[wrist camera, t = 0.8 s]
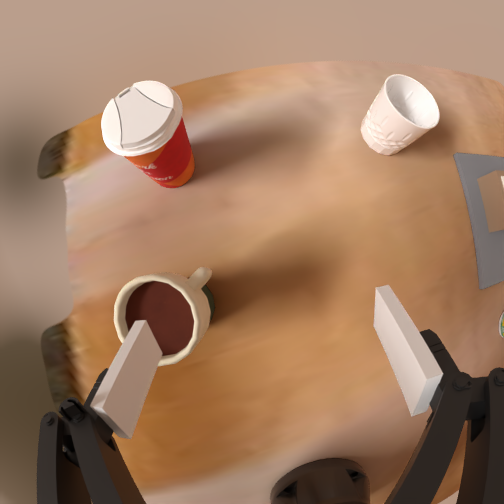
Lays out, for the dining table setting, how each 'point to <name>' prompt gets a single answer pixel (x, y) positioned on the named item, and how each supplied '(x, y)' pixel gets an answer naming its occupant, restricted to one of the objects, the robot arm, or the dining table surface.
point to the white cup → (399, 115)
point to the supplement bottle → (501, 325)
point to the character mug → (167, 310)
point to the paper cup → (150, 132)
